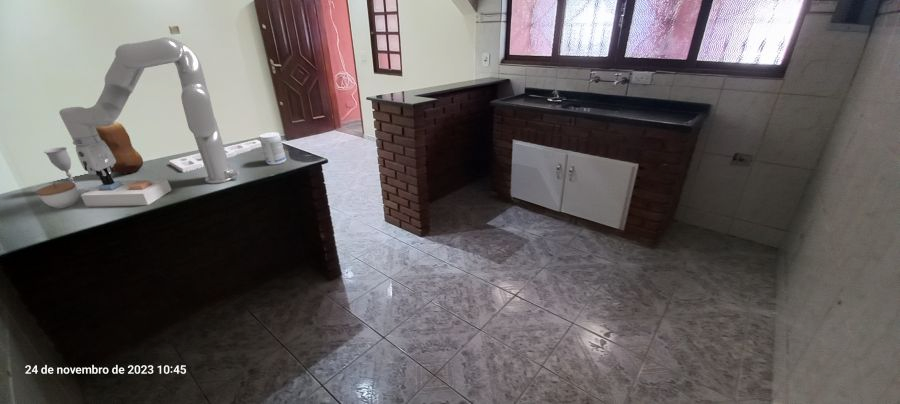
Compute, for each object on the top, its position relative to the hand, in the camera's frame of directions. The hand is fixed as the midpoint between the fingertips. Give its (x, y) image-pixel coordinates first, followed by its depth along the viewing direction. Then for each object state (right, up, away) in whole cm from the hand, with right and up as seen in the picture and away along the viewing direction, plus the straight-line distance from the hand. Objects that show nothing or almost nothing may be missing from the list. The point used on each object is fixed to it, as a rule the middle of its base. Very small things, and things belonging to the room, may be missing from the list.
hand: (109, 183), depth 143 cm
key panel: (+6, -6, +3) cm, 9 cm away
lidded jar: (-16, -9, -2) cm, 18 cm away
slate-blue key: (0, -3, +1) cm, 3 cm away
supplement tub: (+49, +13, +40) cm, 64 cm away
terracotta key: (+12, -2, +2) cm, 12 cm away
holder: (+15, +17, +49) cm, 54 cm away
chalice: (-26, -2, +12) cm, 29 cm away
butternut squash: (-18, +7, +28) cm, 34 cm away
